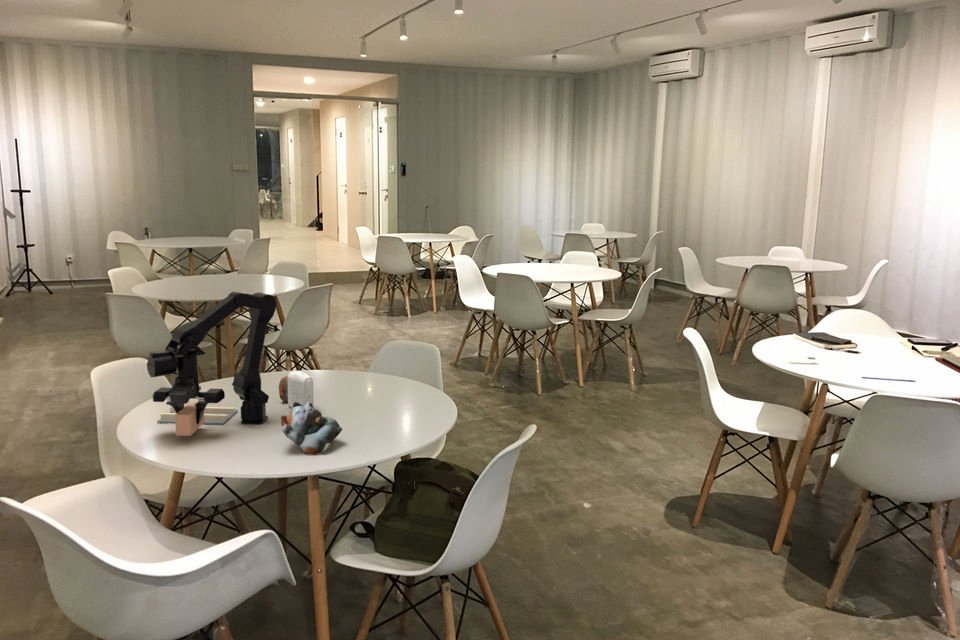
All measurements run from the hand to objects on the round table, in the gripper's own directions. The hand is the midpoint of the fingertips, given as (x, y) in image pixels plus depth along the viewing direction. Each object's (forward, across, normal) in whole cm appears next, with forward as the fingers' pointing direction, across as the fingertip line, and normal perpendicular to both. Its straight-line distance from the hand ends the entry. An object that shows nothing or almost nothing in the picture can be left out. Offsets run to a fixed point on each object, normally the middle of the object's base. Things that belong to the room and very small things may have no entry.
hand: (190, 424), depth 219 cm
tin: (+4, +19, +39) cm, 44 cm away
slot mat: (+3, -4, +16) cm, 17 cm away
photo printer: (+4, +25, +27) cm, 37 cm away
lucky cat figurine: (+4, +37, -7) cm, 38 cm away
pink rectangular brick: (+1, 0, 0) cm, 1 cm away
